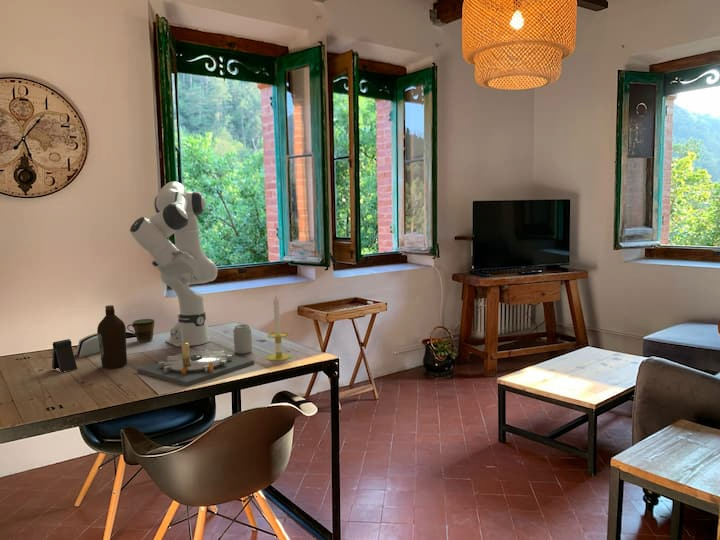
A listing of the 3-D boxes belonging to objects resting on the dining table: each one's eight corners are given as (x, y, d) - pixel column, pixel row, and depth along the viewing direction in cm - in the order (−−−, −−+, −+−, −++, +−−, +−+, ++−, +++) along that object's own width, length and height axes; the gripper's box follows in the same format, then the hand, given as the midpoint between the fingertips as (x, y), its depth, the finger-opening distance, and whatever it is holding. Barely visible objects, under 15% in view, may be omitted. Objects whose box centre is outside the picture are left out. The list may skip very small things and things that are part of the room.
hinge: (106, 347, 258) (109, 328, 255) (112, 351, 256) (116, 332, 253) (73, 356, 243) (76, 336, 240) (79, 360, 241) (82, 340, 238)
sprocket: (145, 367, 215) (143, 339, 214) (203, 351, 237) (202, 326, 236) (187, 378, 199) (185, 348, 198) (245, 360, 221) (244, 333, 220)
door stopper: (77, 369, 222) (74, 340, 221) (62, 373, 217) (59, 343, 216) (67, 366, 227) (64, 337, 226) (51, 369, 223) (49, 340, 221)
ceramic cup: (150, 337, 275) (149, 317, 274) (159, 340, 268) (157, 320, 267) (124, 342, 266) (122, 322, 265) (132, 345, 259) (131, 325, 258)
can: (254, 350, 243) (252, 323, 242) (249, 354, 236) (247, 327, 235) (237, 350, 244) (236, 323, 243) (232, 354, 237) (230, 327, 235)
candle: (294, 354, 233) (291, 292, 230) (285, 361, 224) (282, 296, 220) (273, 353, 236) (269, 292, 233) (263, 360, 226) (259, 295, 223)
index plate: (137, 372, 215) (136, 358, 215) (204, 353, 241) (203, 341, 240) (186, 386, 196) (185, 371, 195) (254, 363, 221) (253, 350, 221)
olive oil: (128, 360, 233) (123, 302, 230) (129, 367, 223) (124, 306, 220) (100, 364, 228) (95, 305, 225) (100, 371, 219) (94, 309, 216)
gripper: (186, 244, 201) (211, 270, 207) (159, 253, 215) (184, 278, 221) (175, 255, 197) (201, 282, 203) (149, 264, 211) (174, 289, 217)
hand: (192, 280), depth 212 cm, fingers open, 8 cm apart
